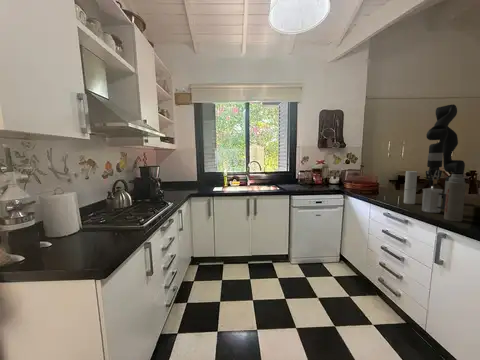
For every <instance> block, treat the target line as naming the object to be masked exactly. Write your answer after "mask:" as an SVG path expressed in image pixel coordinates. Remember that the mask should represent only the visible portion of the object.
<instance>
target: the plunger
mask: <svg viewBox="0 0 480 360" xmlns="http://www.w3.org/2000/svg"><path fill="white" fill-rule="evenodd" d="M434 184H437V185H438V181H437V179H434V180H433V186H431V187H430V188H431V189H432V190H434V189H435V186H434Z"/></svg>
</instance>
